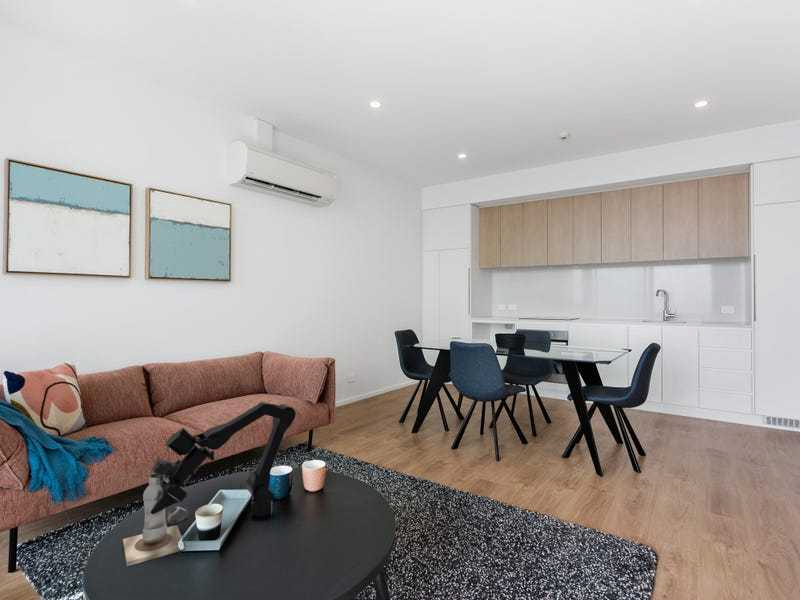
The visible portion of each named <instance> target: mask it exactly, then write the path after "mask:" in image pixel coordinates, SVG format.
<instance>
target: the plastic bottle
mask: <svg viewBox="0 0 800 600" xmlns="http://www.w3.org/2000/svg"><path fill="white" fill-rule="evenodd" d="M162 481H163V474H156V473H154V474H151V475H149V476H148V486H147V487H146V488H145V490H144V491H143V495H142V496H143V497H142V498H143V499H142V500H143V506H144V522H143V523H144V524H143V529H142V533H141V534H142V538H143V541H144V542H145V543H146V544H154V543H158V542H160V541H162V540H163V539H164V538H165V536H166V533H167V528H168V526H167V525H168V524H167V522H166V521H167V520H166V508H164V509H163V510H161V511H159V512H157V513H155V514H151V513H150V512H151V510H152V509H153V507H154V506H155V505H156V503H157V502H158V500H159V499H160V498H161V496H162V492H163V488H164V489H165V485H164V484H163V483H162Z"/></svg>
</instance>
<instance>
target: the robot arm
mask: <svg viewBox="0 0 800 600" xmlns="http://www.w3.org/2000/svg"><path fill="white" fill-rule="evenodd" d="M296 415H297V412H296V410H295V409H294V407H292V406H290V405H287V404H285V403H280V404H279V405H277V404H274V403H267V402H265V401H260V402H259V403H258V404H256V405H254V406H253V407H251V408H249V409H248V410H247V411H245V412H243V413H240V414H239V415H238V416H236V417H235V418H232V419H231V420H230V421H227V422H226V423H222V424H218V425H215V426H213V427H211V428H208V429H206V430H204V432H202V433H198V434H194V435H192V434H190V432H189V431H188V430H187V429H186V428H184V427H182V428H181V429H179V430H177V431H176V432H175V433H172V434H171V435H170V436H169V438H168V439H167V440H166V441H165V446H166V447H167V448H169V449H170V450H171V451H172V452H174V453H175V454H176V455H178V456H179V457H181V456H184V457H183V458H182V459H177V460H176V461H175V462H172V461H169V460H166V459H161V458H156V461H155V462H154V464H153V467H152V472H153V473H154V474H163V481H162V483H163V484H164V485H165V489H164V488H163V492H162V496H161V498H160V499H159V500H158V502H157V503H156V505H155V506H154V507H153V509H152V510H151V512H150V513H151V514H155V513H157V512H159V511H161V510H163V509H164V508H165V509H166V508H168V507H170V506H173V505H174V504H177V503H178V504H179V503H180V502H181V503H182V502H183V501H184V500H186V498H187V496H188V495H187V494H188V493H187V490H186V488H185V487H186V482H187V481H188V480H189V479H190V478H191V476H192V477H195V476H196V471H197V470H198V469H199V468H200V466H202V465H203V463H204V462H205V461H206V460H207V459H208V460H209V459H210V460H211V461H212V462H213V461H215V450H218V449H220V448H221V447H223V445H225V444H226V443H228V441H230V439H231V438H232V437H233V435H235V434H236V433H238V432H240V431H242V430H243V429H244V428H246V427H248V426H249V425H251V424H252V423H254V422H256V421H257V420H260V418H262V417H264V416H269V417H272V429H271V431H270V433H269V436H268V440H267V442H266V445H265V447H264V449H263V453H262V456H261V458H260V460H259V463H258V466H257V467H256V469H255V470H254V471H253V470H249V472H248V473H249V474H248V478H247V479H246V480H245V483H246V489H247V491H248V492H249V493H250V494H251V496H253V498H252V499H253V500H252V501H251V503H250V504H251V506H250V517H251V521H262V520H271V519H272V516H273V513H274V509H273V501H274V499H275V497H276V494H275V493H274V492H273V491H272V490H271V489H270V484H271V471H272V468H273V466H274V463H275V460H276V457H277V454H278V452H279V449H280V447H281V444H282V441H283V438H284V435H285V433H286V432H287V430H288V429H289V428H290V427H291V425H292V424H293V423H294V420H295V418H296ZM196 444H197V445H196ZM208 449H209V450H208Z"/></svg>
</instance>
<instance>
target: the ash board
mask: <svg viewBox="0 0 800 600" xmlns="http://www.w3.org/2000/svg"><path fill="white" fill-rule="evenodd" d="M181 538H183V536H182V534H181V532H180V529H179V526H178V524H176V525H175V524H174V525H172V526H167V533H166V536H165V538H164V539H163V540H162V541H160V542H158V543H154V544H146V543H145V542H144V541H143V538H142V533H140V534H137V535H133V536H130V537H126V538H123V539H122V545H123V551H124V560H125V565H126V567H130V566H133V565H136V564H140V563H143V562H146V561H151V560H154V559H157V558H160V557H164V556H168V555H171V554H174V553H177V552H181V551H180V549H179V547H178V542H179V541H180V540H181Z"/></svg>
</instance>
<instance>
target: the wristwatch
mask: <svg viewBox="0 0 800 600" xmlns="http://www.w3.org/2000/svg"><path fill="white" fill-rule="evenodd" d="M180 510H181V511H184V514H183V515H181V517H179V518H177V519H174V520H173V521H171V518H173V517H174V515H177V514H178V512H179V511H180ZM187 516H188V511H187V509H185V508H183V507H181V506H175V507H173V508H171V510H169V513H168V515H167V523H168V524H170V525H175V524H178V523H180V522H182V521H185V519H186V518H187Z"/></svg>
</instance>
